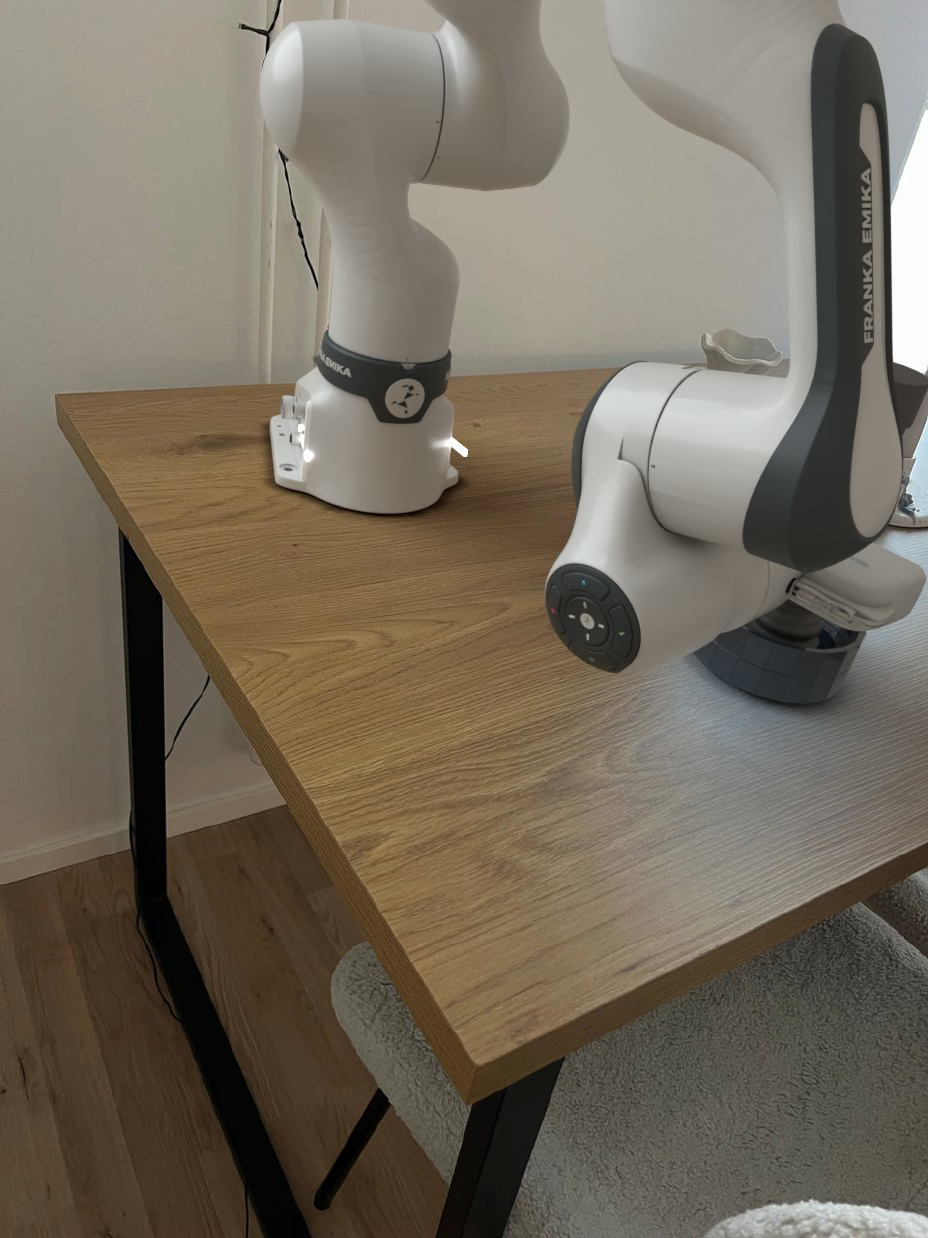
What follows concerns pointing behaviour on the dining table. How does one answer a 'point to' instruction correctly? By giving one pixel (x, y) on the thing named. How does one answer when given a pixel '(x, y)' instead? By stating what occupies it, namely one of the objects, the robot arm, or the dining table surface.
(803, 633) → the candle holder
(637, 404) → the robot arm
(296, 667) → the dining table surface
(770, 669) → the bowl
